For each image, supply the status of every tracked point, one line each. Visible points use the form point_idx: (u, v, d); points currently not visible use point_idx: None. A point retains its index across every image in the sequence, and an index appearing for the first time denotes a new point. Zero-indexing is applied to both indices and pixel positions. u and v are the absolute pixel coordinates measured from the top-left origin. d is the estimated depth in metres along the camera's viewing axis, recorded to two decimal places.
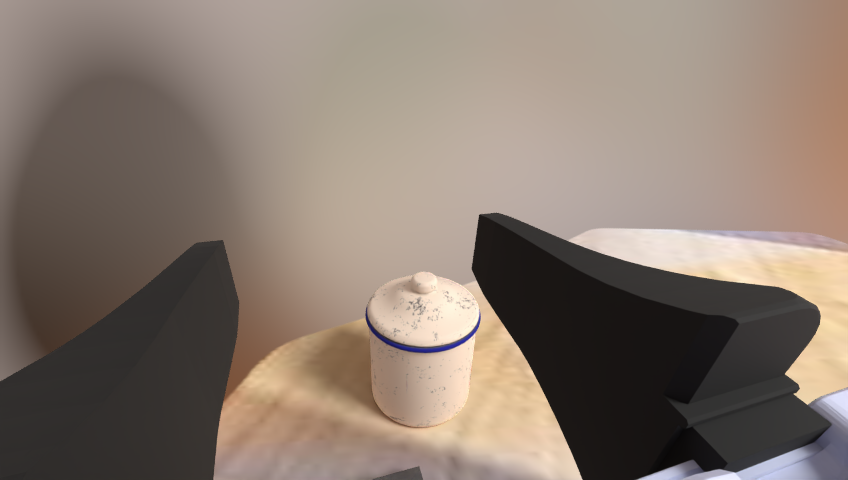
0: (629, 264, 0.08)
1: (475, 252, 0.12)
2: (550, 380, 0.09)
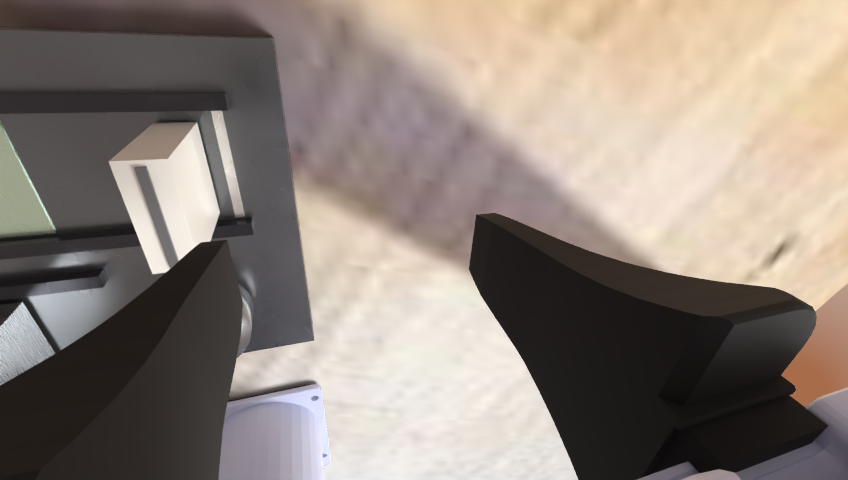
0: (626, 265, 0.08)
1: (472, 252, 0.12)
2: (547, 381, 0.09)
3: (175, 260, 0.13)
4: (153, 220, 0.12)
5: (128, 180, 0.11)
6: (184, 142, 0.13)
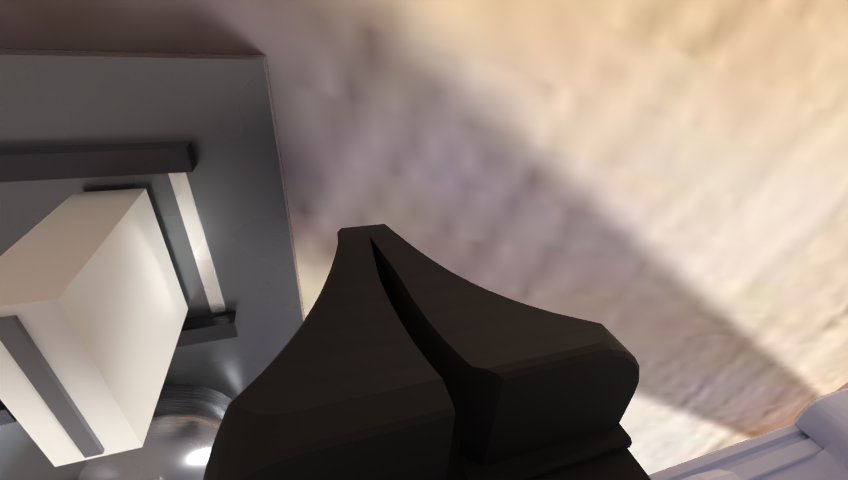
0: (474, 289, 0.07)
1: None
2: None
3: (94, 443, 0.08)
4: (42, 396, 0.07)
5: None
6: (111, 238, 0.08)
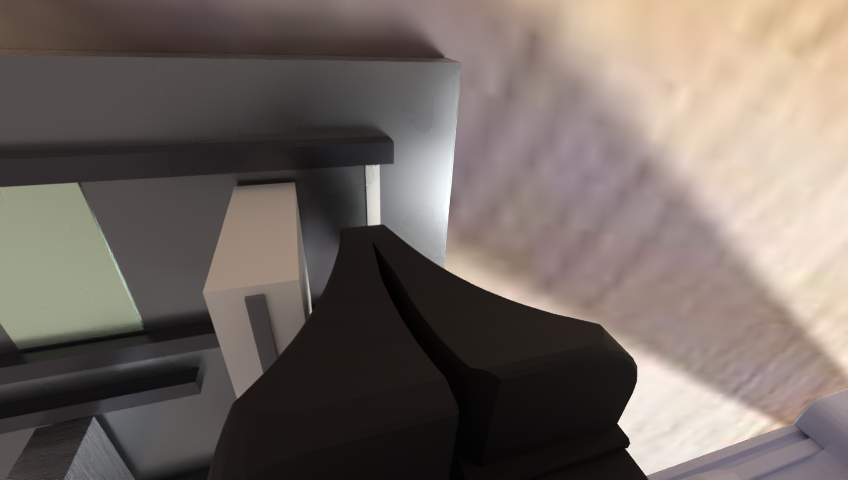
0: (473, 289, 0.07)
1: None
2: None
3: None
4: (263, 369, 0.07)
5: (231, 317, 0.07)
6: (296, 227, 0.08)
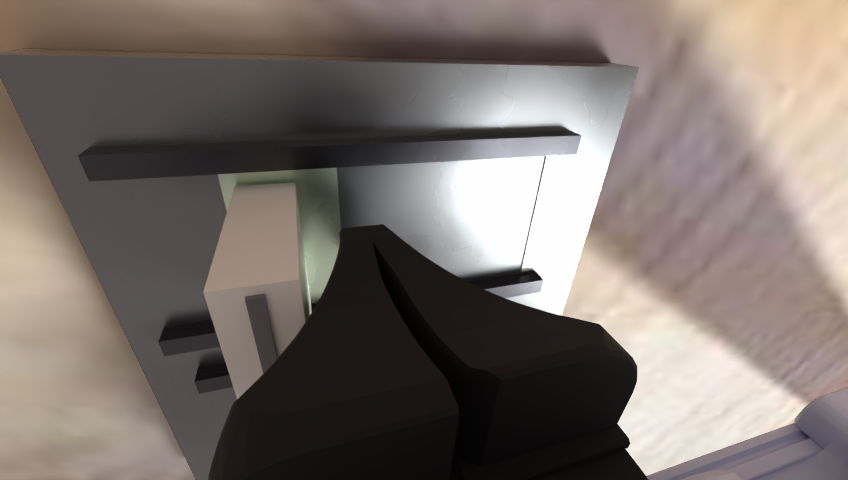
0: (473, 289, 0.07)
1: None
2: None
3: None
4: (263, 369, 0.07)
5: (232, 316, 0.07)
6: (297, 227, 0.08)
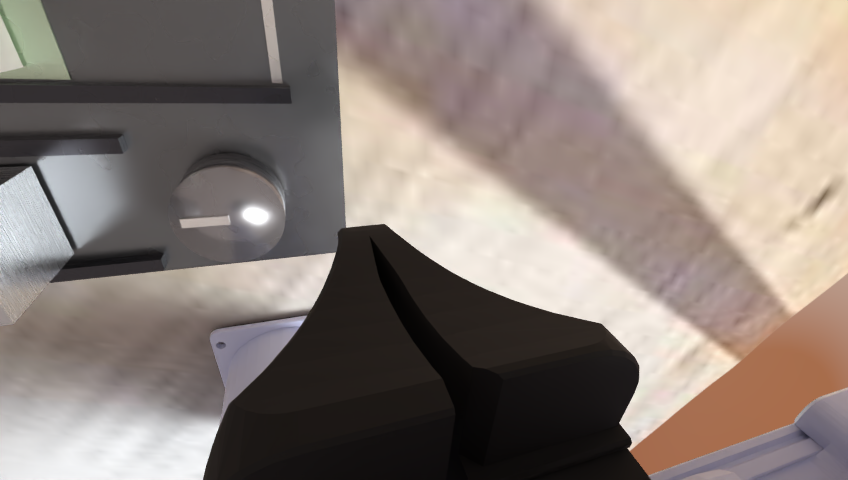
0: (474, 289, 0.07)
1: None
2: None
3: None
4: None
5: None
6: None
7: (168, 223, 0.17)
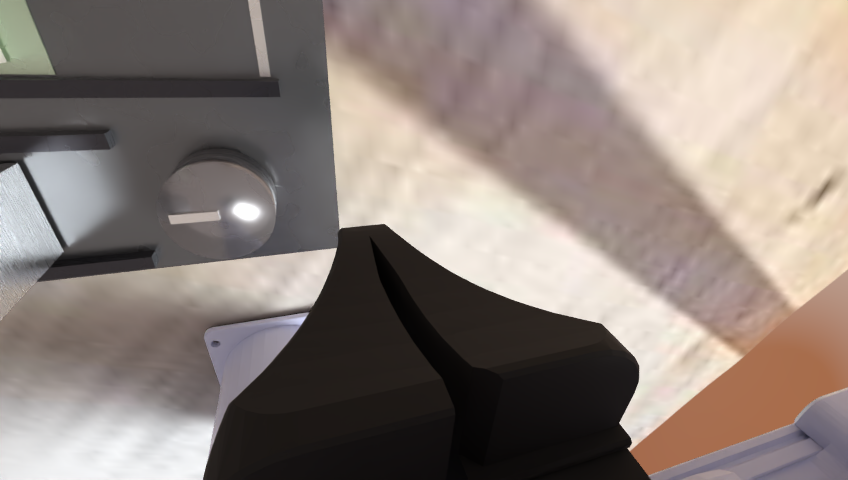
0: (474, 289, 0.07)
1: None
2: None
3: None
4: None
5: None
6: None
7: (158, 220, 0.17)
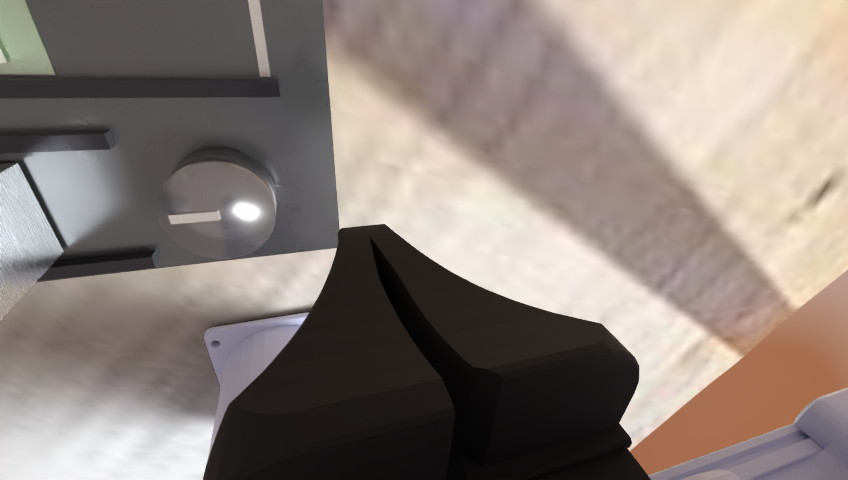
0: (474, 289, 0.07)
1: None
2: None
3: None
4: None
5: None
6: None
7: (158, 220, 0.17)
